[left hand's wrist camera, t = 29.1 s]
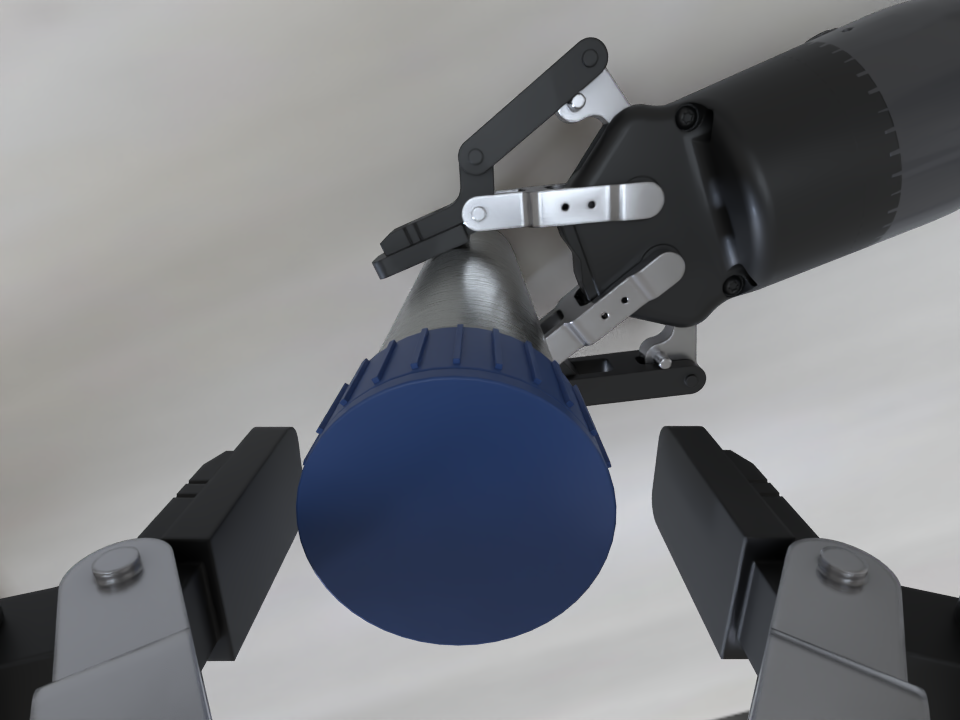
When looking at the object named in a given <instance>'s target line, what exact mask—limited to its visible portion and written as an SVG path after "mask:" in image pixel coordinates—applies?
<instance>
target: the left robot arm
mask: <svg viewBox="0 0 960 720" xmlns="http://www.w3.org/2000/svg"><path fill="white" fill-rule="evenodd" d="M301 473H302V466H301V458H300V450H299V442H298V436H297V433H296V430H295V429H294V428H293V427H254V428H253V429H252V430H251V431H250V432H249V433H248V434H247V436H246V437H245V438H244V439H243V440H242V442H241V443H240V444H239V445H238V446H237V448H236V449H235V450H234V451H225V452H224V453H222V454H220V455H219V456H217V457H215V458H214V459H212V460H210V461H209V462H207V463H205V464H204V465H203V466H202V467H201V468H200V469H199V470H198V471H197V472H196V473H195V474H194V476H193V477H192V478H191V479H190V480H189V484H185V486H184V487H183V488H182V489H181V490H180V491H179V492H178V493H177V497H176V498H173V499H172V500H171V501H170V502H169V503H168V504H167V505H166V507H165V508H164V509H163V510H162V511H161V512H160V513H159V514H158V515H157V517H156V518H155V519H154V520H153V521H152V522H151V523H150V524H149V525H148V527H147V528H146V529H145V530H144V531H143V532H142V533H141V534H140V535H139V536H138V538H137V539H130V540H125V541H121V542H118V543H115V544H112V545H109V546H106V547H104V548H102V549H99V550H97V551H95V552H93V553H92V554H90V555H88V556H86V557H85V558H83V559H82V560H80V561H79V562H78V563H77V564H75V565H74V566H73V567H72V568H71V569H70V570H69V571H68V572H67V573H66V574H65V576H64V577H63V578H62V580H61V582H60V585H59V586H58V587H54V588H50V589H45V590H40V591H35V592H31V593H26V594H21V595H16V596H12V597H7V598H2V599H0V720H212V716H211V712H210V707H209V703H208V698H207V694H206V689H205V685H204V681H203V676H202V672H201V671H202V669H203V667H204V665H205V663H206V662H207V661H235V659H236V657H237V655H238V653H239V650H240V648H241V646H242V644H243V642H244V640H245V638H246V636H247V634H248V632H249V630H250V628H251V626H252V624H253V622H254V620H255V618H256V616H257V614H258V612H259V610H260V607H261V605H262V603H263V601H264V599H265V597H266V595H267V593H268V591H269V589H270V587H271V585H272V583H273V581H274V579H275V577H276V575H277V573H278V571H279V569H280V567H281V565H282V562H283V560H284V558H285V556H286V554H287V552H288V550H289V548H290V546H291V544H292V542H293V540H294V538H295V536H296V534H297V532H298V527H297V517H296V499H297V489H298V485H299V481H300V477H301ZM652 508H653V514H654V519H655V522H656V524H657V527H658V529H659V531H660V533H661V535H662V537H663V539H664V541H665V543H666V545H667V547H668V549H669V551H670V554H671V556H672V558H673V560H674V562H675V564H676V566H677V568H678V570H679V572H680V574H681V576H682V578H683V581H684V583H685V585H686V587H687V589H688V591H689V593H690V595H691V597H692V599H693V601H694V603H695V605H696V607H697V610H698V612H699V614H700V616H701V618H702V620H703V622H704V624H705V626H706V628H707V630H708V632H709V634H710V637H711V639H712V641H713V643H714V645H715V647H716V649H717V651H718V653H719V655H720V657H721V659H749V661H750V663H751V664H752V666H753V668H754V670H755V672H756V674H757V681H756V685H755V689H754V694H753V698H752V703H751V707H750V712H749V716H748V720H960V597H959V598H956V597H952V596H947V595H942V594H937V593H933V592H928V591H923V590H918V589H914V588H909V587H904V586H901V585H900V582H899V580H898V578H897V577H896V576H895V574H894V573H893V572H892V571H891V570H890V569H889V568H888V567H887V566H886V565H885V564H883V563H882V562H881V561H880V560H878V559H877V558H875V557H874V556H872V555H870V554H868V553H867V552H865V551H863V550H861V549H858V548H856V547H854V546H851V545H848V544H845V543H842V542H839V541H835V540H830V539H823V538H819V537H818V536H817V535H816V534H815V532H814V531H813V530H812V529H811V528H810V527H809V526H808V525H807V524H806V522H805V521H804V520H803V519H802V518H801V517H800V516H799V515H798V513H797V512H796V511H795V510H794V509H793V508H792V507H791V506H790V504H789V503H788V502H787V501H786V500H785V499H784V498H783V497H782V496H779V492H778V491H777V490H776V489H775V488H774V487H773V485H772V484H771V483H768V482H767V479H766V478H765V477H764V475H763V474H762V473H761V472H760V471H759V470H758V469H757V468H756V466H755V465H754V464H753V463H751V462H749V461H748V460H746V459H744V458H743V457H741V456H739V455H738V454H736V453H734V452H733V451H731V450H722V448H721V447H720V446H719V445H718V444H717V442H716V441H715V440H714V439H713V438H712V436H711V435H710V434H709V433H708V432H707V430H706V429H705V428H704V427H702V426H664V427H663V428H662V430H661V432H660V435H659V442H658V450H657V458H656V466H655V473H654V481H653V489H652Z"/></svg>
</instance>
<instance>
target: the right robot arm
mask: <svg viewBox="0 0 960 720" xmlns="http://www.w3.org/2000/svg"><path fill="white" fill-rule="evenodd" d="M607 62H608V52H607V49H606V46H605V45H604V43H603V42H602V41H600V40H599V39H597V38H592V37H589V38H585V39H583V40H581V41H580V42H578V43H577V44H576V45H575V46H574V47H573V48H571V49H570V50H569V51H568V52H567V53H566V54H565V55H564V56H562V57H561V58H560V59H559V60H558V61H557V62H556V63H554V64H553V65H552V66H551V67H550V68H549V69H548V70H546V71H545V72H544V73H543V74H542V75H541V76H540V77H538V78H537V79H536V80H535V81H534V82H533V83H532V84H530V85H529V86H528V87H527V88H526V89H525V90H524V91H522V92H521V93H520V94H519V95H518V96H517V97H516V98H514V99H513V100H512V101H511V102H510V103H509V104H508V105H506V106H505V107H504V108H503V109H502V110H501V111H500V112H498V113H497V114H496V115H495V116H494V117H493V118H492V119H490V120H489V121H488V122H487V123H486V124H485V125H484V126H482V127H481V128H480V129H479V130H478V131H477V132H476V133H474V134H473V135H472V136H471V137H470V138H469V139H468V140H466V141H465V142H464V143H463V144H462V146H461V147H460V150H459V153H458V160H459V170H460V194H459V196H458V198H457V199H456V200H455V201H454V202H453V203H451V204H450V205H447V206H445V207H443V208H441V209H438V210H436V211H434V212H432V213H429V214H427V215H425V216H423V217H420V218H418V219H416V220H414V221H411V222H409V223H407V224H405V225H403V226H400V227H398V228H396V229H394V230H393V231H392V232H391V233H390V234H389V235H388V236H387V237H386V238H385V239H384V240H383V241H382V242H381V243H380V245H381V247H382V249H383V251H384V253H383V254H381V255H379V256H378V257H377V258H376V259H375V260H374V261H373V262H372V264H373V266H374V268H375V270H376V272H377V274H378V276H379V278H380V279H384V278H387V277H389V276H392V275H394V274H396V273H399V272H401V271H403V270H406V269H408V268H410V267H412V266H415V265H417V264H419V263H422V262H424V261H426V260H429V259H431V258H433V257H436V256H438V255H440V254H442V253H444V252H446V251H449V250H452V249H454V248H456V247H459V246H461V245H463V244H466V243H468V242H469V241H470V235H471V234H473V233H475V232H477V231H487V230H498V229H509V228H520V227H550V226H557V228H558V231H559V233H560V236H561V237H562V239H563V240H564V241H565V243H566V244H567V246H568V247H569V248H570V250H571V251H572V256H573V268H574V274H575V276H576V279H577V282H578V285H577V286H576V287H575V288H574V289H572V290H571V291H570V292H569V293H567V294H566V295H565V296H564V297H563V298H562V299H561V300H560V301H559V302H558V304H557V306H556V307H555V308H554V309H553V310H552V311H551V312H549V313H548V314H547V315H546V316H544V317H543V318H542V319H541V320H540V321H539V323H540V326H541V328H542V331H543V334H544V337H545V340H546V342H547V345H548V348H549V351H550V353H551V356H552V359H553V361H554V360H556V361H557V362H558V363H559V366H560V368H561V371H562V373H563V374H564V375H565V376H566V378H567V379H568V381H569V382H570V384H571V385H572V386H574V385H577V387H578V388H579V391H580V393H581V395H582V398H583V400H584V402H585V405H586V406H591V405H599V404H608V403H617V402H625V401H634V400H643V399H651V398H660V397H668V396H677V395H686V394H693V393H696V392H698V391H699V390H701V389H702V387H703V386H704V384H705V382H706V374H705V372H704V371H703V370H702V369H701V368H700V367H699V366H698V364H697V362H696V325H697V324H699V323H700V322H702V321H703V320H705V319H706V318H707V317H708V316H709V315H710V314H711V313H712V312H713V310H715V309H716V308H717V307H718V306H719V305H720V304H722V303H723V302H725V301H726V300H728V299H730V298H733V297H736V296H739V295H743V294H746V293H749V292H753V291H756V290H759V289H761V288H764V287H766V286H769V285H771V284H774V283H777V282H779V281H782V280H784V279H787V278H789V277H792V276H794V275H797V274H800V273H802V272H805V271H807V270H810V269H812V268H815V267H817V266H820V265H822V264H825V263H828V262H830V261H833V260H835V259H838V258H840V257H843V256H846V255H848V254H851V253H853V252H856V251H858V250H861V249H864V248H866V247H869V246H871V245H873V244H876V243H879V242H881V241H884V240H886V239H889V238H891V237H894V236H896V235H899V234H902V233H904V232H907V231H909V230H912V229H914V228H917V227H919V226H922V225H924V224H927V223H929V222H932V221H934V220H937V219H939V218H941V217H944V216H946V215H948V214H950V213H952V212H954V211H956V210H958V209H960V0H910V1H907V2H904V3H901V4H897V5H894V6H891V7H888V8H885V9H882V10H880V11H877V12H875V13H872V14H870V15H867V16H865V17H862V18H860V19H858V20H856V21H854V22H851V23H849V24H847V25H845V26H842V27H840V28H835V29H832V30H827V31H824V32H822V33H820V34H818V35H816V36H814V37H813V38H811V39H809V40H808V41H807V42H806V43H805V44H802V45H800V46H798V47H796V48H793V49H791V50H789V51H787V52H784V53H782V54H780V55H778V56H775V57H773V58H771V59H769V60H767V61H764V62H762V63H760V64H758V65H755V66H753V67H751V68H749V69H746V70H744V71H742V72H740V73H737V74H735V75H733V76H731V77H728V78H726V79H724V80H722V81H719V82H717V83H715V84H713V85H710V86H708V87H706V88H704V89H701V90H699V91H697V92H695V93H692V94H690V95H688V96H686V97H683V98H681V99H679V100H677V101H674V102H672V103H670V104H667V105H664V106H651V105H643V104H638V105H632V106H631V105H630V104H629V102H628V101H627V99H626V98H625V96H624V95H623V93H622V91H621V90H620V88H619V87H618V85H617V84H616V82H615V81H614V79H613V78H612V76H611V74H610V73H609V71H608V70H607V68H606V65H607ZM554 113H555V114H556V116H557V117H558V118H559V119H560V120H561V121H563V122H565V123H569V124H570V123H576V122H578V121H581V120H583V119H584V118H586V117H594V118H597V119H599V120H600V121H601V122H602V123H603V126H602V127H601V129H600V131H599V132H598V134H597V135H596V137H595V139H594V140H593V142H592V143H591V145H590V147H589V148H588V150H587V151H586V153H585V155H584V156H583V158H582V159H581V161H580V163H579V164H578V166H577V167H576V169H575V171H574V172H573V174H572V176H571V177H570V179H569V180H568V182H567V183H563V184H552V185H541V186H531V187H523V188H517V189H507V190H496V191H494V170H493V165H495V164H496V163H497V162H498V161H499V160H500V159H502V158H503V157H504V156H505V155H506V154H507V153H509V152H510V151H511V150H512V149H513V148H515V147H516V146H517V145H518V144H519V143H520V142H522V141H523V140H524V139H525V138H526V137H527V136H529V135H530V134H531V133H532V132H533V131H534V130H536V129H537V128H538V127H539V126H540V125H542V124H543V123H544V122H545V121H546V120H547V119H549V118H550V117H551V116H552V115H553V114H554ZM603 313H605V314H604V315H602V314H603ZM601 315H602V316H601ZM628 317H633V318H637V319H642V320H646V321H651V322H655V323H660V324H664V325H665V328H664V329H663V331H662V332H661V333H660V334H658V335H656V336H654V337H650V338H647V339H646V340H645V341H643V342H642V344H641V345H640V348H639V350H635V351H627V352H618V353H610V354H602V355H593V356H585V357H576V358H568V357H570V356H571V355H572V354H574V353H575V352H576V351H577V350H579V349H580V348H581V347H583V346H589V345H592V344H594V343H595V342H597V341H598V340H599V339H601V338H602V337H603V336H604V335H606V334H607V333H608V332H610V331H611V330H612V329H613V328H615V327H616V326H617V325H619V324H620V323H621V322H622V321H624V320H625V319H626V318H628ZM567 358H568V359H567Z"/></svg>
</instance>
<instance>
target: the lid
mask: <svg viewBox="0 0 960 720" xmlns="http://www.w3.org/2000/svg"><path fill="white" fill-rule="evenodd" d="M316 432H317V433H318V434H319V435H318V437H317V438H316V440H315V442H314V444H313V445H312V447H311V449H310V451H309V452H308V454H307V456H306V457H305V459H304V462H303V465H304V468H303V470H302V473H301V477H300V481H299V485H298V489H297V499H296V517H297V527H298V531H299V536H300V541H301V544H302V546H303V549H304V552H305V554H306V557H307V559H308V561H309V563H310V565H311V566H312V568H313V570H314V572H315V574H316V575H317V576H318V578H319V579H320V580H321V582H322V583H323V585H324V586H325V587H326V588H327V589H328V590H329V592H330V593H331V594H332V595H333V596H334V597H335V598H336V599H337V600H338V601H339V602H340V603H342V604H343V605H344V606H345V607H347V608H348V609H349V610H350V611H351V612H353V613H354V614H356V615H357V616H359V617H361V618H362V619H364V620H365V621H367V622H368V623H371V624H373V625H375V626H377V627H379V628H381V629H383V630H385V631H387V632H390V633H393V634H395V635H398V636H401V637H404V638H408V639H412V640H416V641H420V642H426V643H433V644H439V645H477V644H484V643H491V642H497V641H501V640H504V639H508V638H512V637H515V636H518V635H521V634H524V633H526V632H529V631H531V630H533V629H535V628H537V627H539V626H541V625H543V624H545V623H547V622H549V621H551V620H552V619H554V618H555V617H557V616H558V615H560V614H561V613H563V612H564V611H565V610H566V609H568V608H569V607H570V606H571V605H572V604H574V603H575V602H576V601H577V600H578V599H579V598H580V597H581V596H582V595H583V594H584V592H585V591H586V590H587V589H588V588H589V587H590V585H591V584H592V583H593V581H594V580H595V578H596V577H597V576H598V574H599V572H600V570H601V568H602V566H603V565H604V563H605V561H606V559H607V556H608V553H609V550H610V547H611V544H612V541H613V536H614V531H615V526H616V500H615V492H614V487H613V483H612V480H611V476H610V473H609V470H608V468H609V467H611V463H610V461H609V458H608V456H607V454H606V451H605V449H604V447H603V444H602V442H601V440H600V437H599V435H598V433H597V430H596V428H595V425H594V423H593V421H592V418H591V416H590V414H589V412H588V409H587V407H586V405H585V402H584V400H583V398H582V395H581V393H580V391H579V388H578V387H577V385H574V386H572V385H571V384H570V382H569V381H568V379H567V378H566V376H565V375H564V374H563V373H562V371H561V368H560V366H559V363H558V362H557V361H556V360H554V361H553V362H551V361H550V360H549V359H548V358H547V357H546V356H544V355H543V354H542V353H540V352H539V351H537V350H536V349H534V348H533V347H532V343H531V342H529V341H526V342H525V343H524V342H522V341H520V340H518V339H516V338H513V337H511V336H508V335H505V334H502V333H499V329H495V328H493V331H491V330H486V329H480V328H470V327H463V324H457V327H449V328H439V329H434V330H428V328H424V329H422V330H421V333H417V334H414V335H411V336H408V337H406V338H404V339H402V340H400V341H398V342H396V341H395V340H392V341H390V342H389V344H388V346H387V348H385V349H384V350H382V351H381V352H379V353H378V354H377V355H375V356H374V357H373V358H372V359H371V360H370V361H369V360H368V359H365V360H364V361H363V362H362V363H361V365H360V367H359V369H358V370H357V372H356V374H355V376H354V377H353V379H352V381H351V383H350V384H349V385H348V384H346V383H345V384H344V385H343V387H342V389H341V390H340V392H339V394H338V395H337V397H336V399H335V401H334V402H333V404H332V406H331V407H330V409H329V411H328V412H327V414H326V416H325V417H324V419H323V421H322V422H321V424H320V426H319V427H318V429H317V431H316Z"/></svg>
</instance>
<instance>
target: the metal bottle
mask: <svg viewBox="0 0 960 720" xmlns="http://www.w3.org/2000/svg"><path fill="white" fill-rule="evenodd" d="M457 324H463V327H470V328H480V329H486V330H491V331H493V328H495V329H499V333H502V334H505V335H508V336H511V337H513V338H516V339H518V340H520V341H522V342H524V343H525V342H526V341H529V342H531V343H532V347H533V348H534V349H536V350H537V351H539V352H540V353H542V354H543V355H544V356H546V357H547V358H548V359H549V360H550V361H551V362H553V359H552V356H551V353H550V351H549V348H548V345H547V342H546V340H545V337H544V334H543V331H542V328H541V326H540V323H539V320H538V317H537V315H536V312H535V309H534V306H533V304H532V301H531V298H530V295H529V293H528V290H527V287H526V284H525V281H524V279H523V276H522V273H521V270H520V268H519V265H518V262H517V259H516V257H515V254H514V251H513V249H512V247H511V245H510V244H509V242H508V241H507V239H506V238H505V237H504V236H503V235H502V234H501V233H500V232H498V231H497V230H487V231H477V232H475V233H473V234H471V235H470V241H469V242H468V243H466V244H463V245H461V246H459V247H456V248H454V249H452V250H449V251H446V252H444V253H442V254H440V255H438V256H436V257H433V258H431V259H429V260H426V262H425V264H424V266H423V268H422V270H421V271H420V273H419V275H418V277H417V279H416V281H415V283H414V285H413V287H412V289H411V291H410V293H409V295H408V297H407V299H406V301H405V303H404V304H403V306H402V308H401V310H400V312H399V314H398V316H397V318H396V320H395V322H394V324H393V326H392V328H391V330H390V332H389V334H388V336H387V337H386V339H385V341H384V343H383V345H382V347H381V349H380V351H379V352H381V351H382V350H384V349H385V348H387V346H388V344H389V342H390V341H392V340H395V341H396V342H398V341H400V340H402V339H404V338H406V337H408V336H411V335H414V334H417V333H421V330H422V329H424V328H428V330H434V329H439V328H449V327H457Z"/></svg>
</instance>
